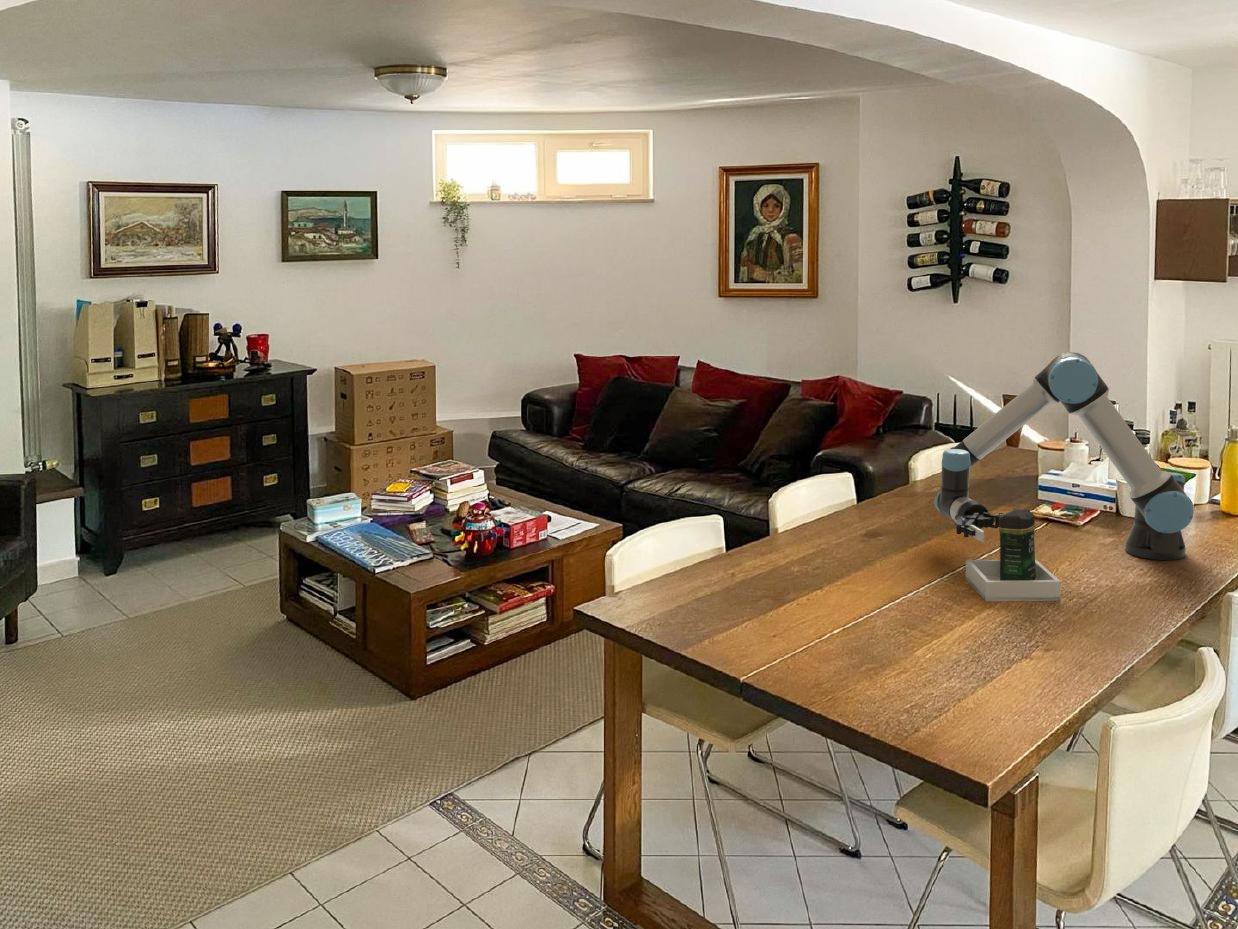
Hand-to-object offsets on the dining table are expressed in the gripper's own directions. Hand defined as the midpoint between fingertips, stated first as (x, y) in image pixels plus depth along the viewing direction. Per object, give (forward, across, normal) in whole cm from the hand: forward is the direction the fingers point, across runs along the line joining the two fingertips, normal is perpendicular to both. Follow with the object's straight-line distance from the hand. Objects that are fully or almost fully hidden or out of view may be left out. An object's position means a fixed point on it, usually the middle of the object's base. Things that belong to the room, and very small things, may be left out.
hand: (1008, 535), depth 272 cm
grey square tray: (+3, 0, -14) cm, 14 cm away
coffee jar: (+1, -3, -12) cm, 13 cm away
